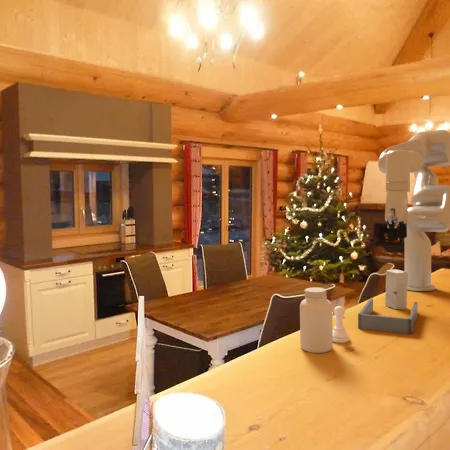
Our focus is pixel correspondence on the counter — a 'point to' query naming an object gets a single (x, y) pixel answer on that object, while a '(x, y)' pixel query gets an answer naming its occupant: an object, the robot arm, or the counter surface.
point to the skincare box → (396, 289)
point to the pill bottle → (316, 321)
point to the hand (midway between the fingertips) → (397, 238)
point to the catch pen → (386, 320)
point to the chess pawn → (339, 326)
